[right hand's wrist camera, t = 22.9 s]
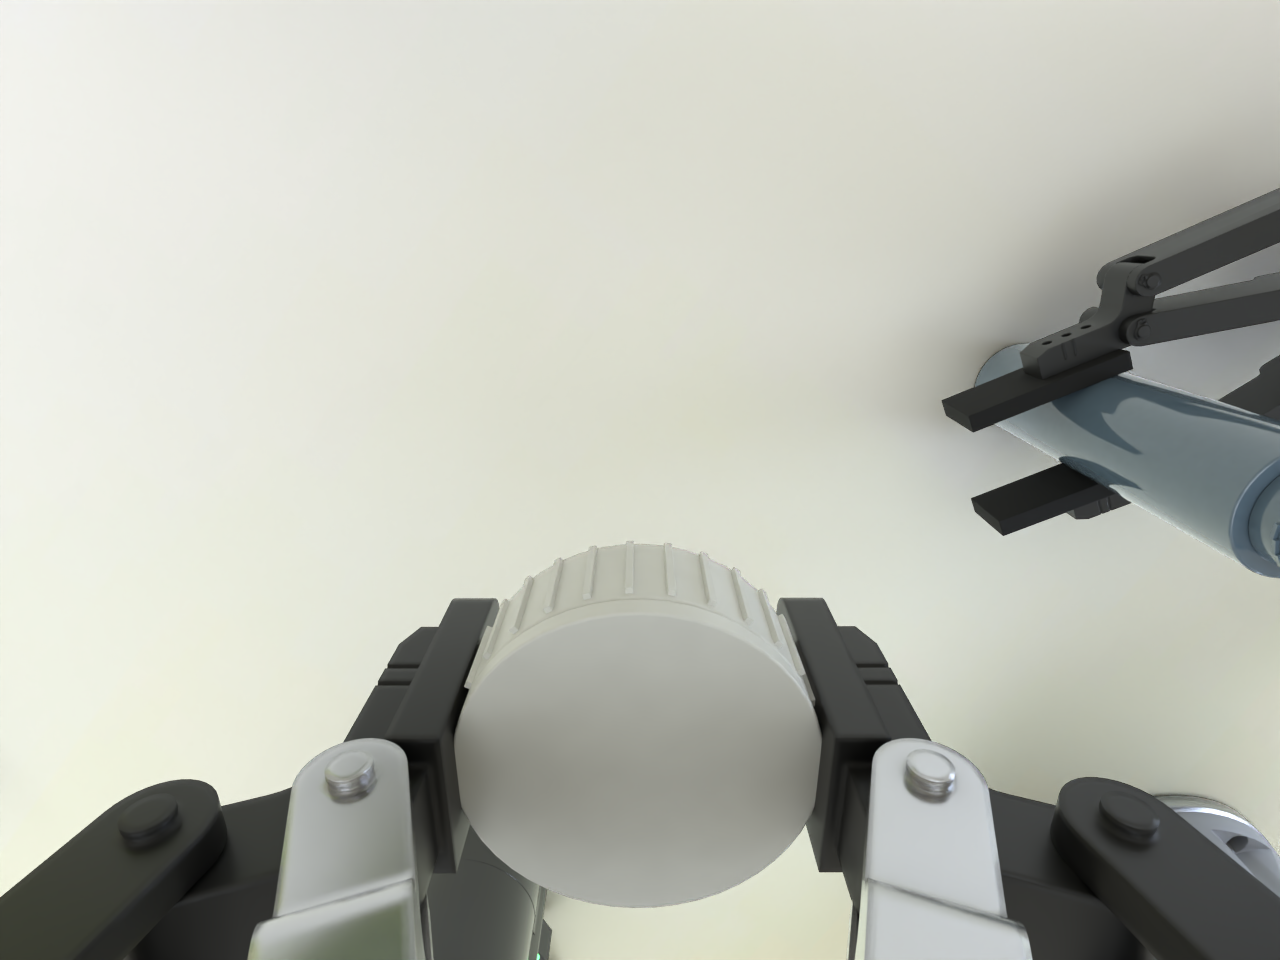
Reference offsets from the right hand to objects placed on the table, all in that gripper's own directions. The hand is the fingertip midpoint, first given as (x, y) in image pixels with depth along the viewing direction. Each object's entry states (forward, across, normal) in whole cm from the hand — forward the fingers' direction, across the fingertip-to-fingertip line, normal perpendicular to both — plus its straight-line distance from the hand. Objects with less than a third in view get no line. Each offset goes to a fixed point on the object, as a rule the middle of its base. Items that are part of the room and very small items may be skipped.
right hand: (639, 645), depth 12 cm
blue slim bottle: (+25, +20, -1) cm, 32 cm away
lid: (-3, 0, 0) cm, 3 cm away
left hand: (+18, +15, -3) cm, 24 cm away
